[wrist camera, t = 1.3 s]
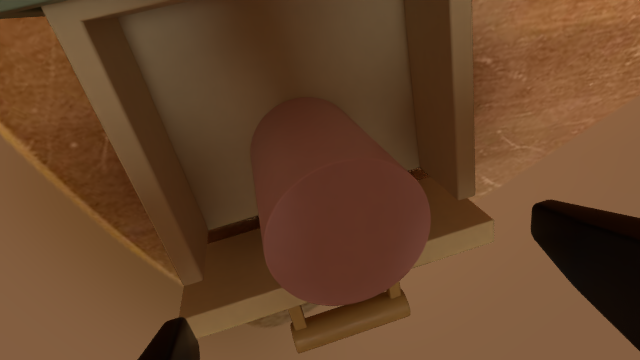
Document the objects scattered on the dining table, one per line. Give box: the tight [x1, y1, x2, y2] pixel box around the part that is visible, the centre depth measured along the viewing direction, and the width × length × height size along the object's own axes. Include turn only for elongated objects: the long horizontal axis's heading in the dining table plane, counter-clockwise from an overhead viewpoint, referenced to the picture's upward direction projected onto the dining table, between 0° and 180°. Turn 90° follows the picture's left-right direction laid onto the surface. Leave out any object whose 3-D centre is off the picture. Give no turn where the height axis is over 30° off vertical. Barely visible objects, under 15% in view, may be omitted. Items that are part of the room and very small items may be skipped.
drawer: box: [41, 0, 494, 353], centre depth 16 cm, size 17×13×5 cm
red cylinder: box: [250, 97, 431, 306], centre depth 13 cm, size 5×5×7 cm
